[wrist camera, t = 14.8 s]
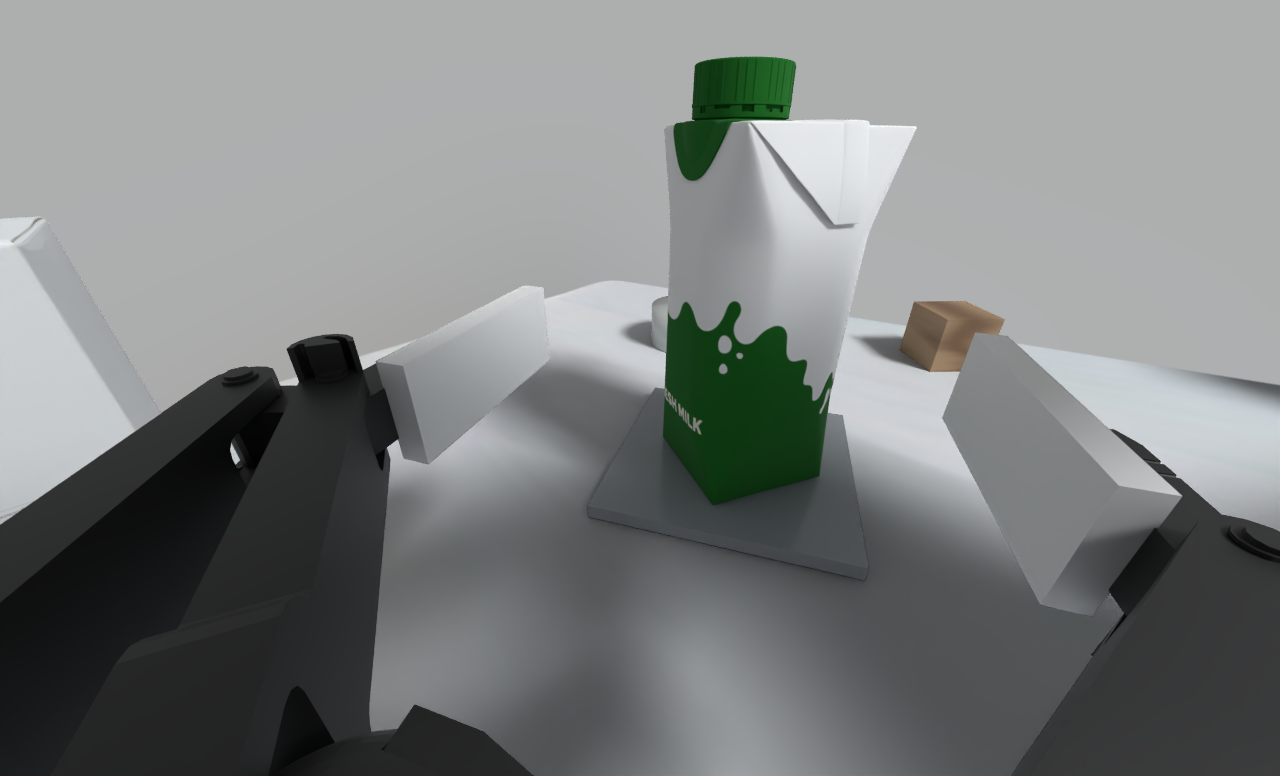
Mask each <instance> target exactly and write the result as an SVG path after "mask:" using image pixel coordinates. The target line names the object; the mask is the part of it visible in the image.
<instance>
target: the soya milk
mask: <svg viewBox="0 0 1280 776" xmlns="http://www.w3.org/2000/svg"><path fill="white" fill-rule="evenodd" d="M795 70H796V63H795V62H794V61H791V60H788V59H783V58H774V57H730V58H720V59H712V60H706V61H702V62H699V63H697V64H696V65H695V73H694V91H693V104H692V108H693V110H692V111H693V113H692V120H695V121H689V122H688V121H687V122H684V123H676V124H675V125H674V126H666V128H665V145H666V159H667V173H668V186H669V200H670V201H669V202H670V222H671V223H670V224H671V233H670V264H669V291H668V318H667V345H666V372H665V395H664V419H663V437H664V439H665V440H666V441H667V443H668V444H669V446H670V447H671V448H672V450H673V451H674V452H675V454H676V455H677V457H678V458H679V459H680V461H681V462H682V463H683V465H684V466H685V468H686V469H687V470H688V472H689V473H690V474H691V476H692V477H693V479H694V480H695V481H696V483H697V484H698V485H699V487H700V488H701V490H702V491H703V492H704V494H705V495H706V496H707V498H708V499H709V501H710V502H711V503H712V505H715V504H719V503H722V502H726V501H730V500H734V499H737V498H741V497H745V496H748V495H752V494H756V493H759V492H763V491H767V490H770V489H774V488H778V487H782V486H785V485H789V484H793V483H796V482H800V481H804V480H807V479H811V478H815V477H818V476H820V468H821V460H822V453H823V445H824V437H825V429H826V421H827V414H828V406H829V399H830V394H831V389H832V385H833V380H834V376H835V372H836V368H837V363H838V359H839V355H840V351H841V346H842V342H843V338H844V333H845V329H846V325H847V321H848V316H849V312H850V308H851V304H852V300H853V295H854V291H855V287H856V282H857V278H858V274H859V270H860V266H861V261H862V257H863V253H864V249H865V245H866V241H867V238H868V235H869V232H870V229H871V226H872V224H873V221H874V219H875V217H876V215H877V213H878V210H879V208H880V206H881V204H882V202H883V200H884V197H885V195H886V193H887V191H888V189H889V186H890V184H891V182H892V180H893V178H894V176H895V173H896V171H897V169H898V167H899V165H900V163H901V160H902V158H903V156H904V154H905V152H906V150H907V147H908V145H909V143H910V141H911V139H912V137H913V134H914V132H915V130H916V128H917V127H915V126H876V125H870V123H869V121H865V120H786V119H789V112H790V107H791V101H792V93H793V85H794V77H795Z"/></svg>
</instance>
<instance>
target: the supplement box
mask: <svg viewBox="0 0 1280 776" xmlns="http://www.w3.org/2000/svg"><path fill="white" fill-rule="evenodd" d="M159 414H161V411H160V409H159V408H158V406H157V404H156V403H155V401H154V399H153V397H152V396H151V394H150V392H149V391H148V389H147V387H146V386H145V384H144V383H143V381H142V379H141V378H140V376H139V375H138V373H137V371H136V370H135V368H134V366H133V364H132V363H131V361H130V359H129V358H128V356H127V354H126V353H125V351H124V350H123V348H122V346H121V345H120V343H119V341H118V340H117V338H116V336H115V335H114V333H113V331H112V330H111V328H110V326H109V325H108V323H107V321H106V320H105V318H104V316H103V315H102V313H101V311H100V310H99V308H98V306H97V305H96V303H95V301H94V300H93V298H92V296H91V295H90V293H89V291H88V290H87V288H86V286H85V285H84V283H83V281H82V280H81V278H80V276H79V274H78V273H77V272H76V270H75V268H74V266H73V264H72V263H71V261H70V259H69V258H68V256H67V254H66V252H65V251H64V249H63V247H62V246H61V244H60V242H59V241H58V239H57V237H56V236H55V234H54V232H53V231H52V229H51V228H50V226H49V224H48V222H47V221H46V219H45V218H43V217H41V216H40V217H39V216H38V217H23V218H7V219H0V524H2V523H3V522H5V521H6V520H8V519H9V518H10V517H12V516H13V515H15V514H16V513H18V512H19V511H21V510H22V509H23V508H25V507H26V506H28V505H29V504H31V503H32V502H34V501H35V500H37V499H38V498H39V497H41V496H42V495H44V494H45V493H47V492H48V491H50V490H51V489H52V488H54V487H55V486H57V485H58V484H60V483H61V482H63V481H64V480H65V479H67V478H68V477H70V476H71V475H73V474H74V473H76V472H77V471H78V470H80V469H81V468H83V467H84V466H86V465H87V464H89V463H90V462H91V461H93V460H94V459H96V458H97V457H99V456H100V455H102V454H103V453H104V452H106V451H107V450H109V449H110V448H112V447H113V446H115V445H116V444H117V443H119V442H120V441H122V440H123V439H125V438H126V437H128V436H129V435H130V434H132V433H133V432H135V431H136V430H138V429H139V428H141V427H142V426H143V425H145V424H146V423H148V422H149V421H151V420H152V419H154V418H155V417H156V416H158V415H159Z"/></svg>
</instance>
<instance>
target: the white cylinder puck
mask: <svg viewBox="0 0 1280 776" xmlns="http://www.w3.org/2000/svg"><path fill="white" fill-rule="evenodd" d="M667 318H668V296H666V297H662V298H659V299H657V300H655V301H654V302H653V303H652V336H651V342H652V345H653V346H654V347H655V348H657V349H658V350H660V351H662V352H665V353H666V345H667Z"/></svg>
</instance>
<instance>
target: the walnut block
mask: <svg viewBox="0 0 1280 776" xmlns="http://www.w3.org/2000/svg"><path fill="white" fill-rule="evenodd" d="M1003 322H1004V319H1003V318H1001V317H998V316H996V315H994V314H992V313H989V312H988V311H985V310H983V309H981V308H979V307H976V306H974V305H972V304H970V303H968V302H965V301H947V302H946V301H945V302H944V301H941V302H940V301H939V302H938V301H937V302H914V304H913V307H912V311H911V314H910V317H909V320H908V324H907V327H906V330H905V334H904V337H903V340H902V343H901V347H900V350H901V351H902V352H904V353H905V354H906V355H908V356H909V357H910V358H912V359H913V360H915V361H916V362H917V363H919V364H920V365H921V366H923V367H924V368H925V369H927V370H928V371H929V372H952V371H961V368H962V366H963V363H964V360H965V358H966V355H967V353H968V350H969V347H970V345H971V342H972V340H973V337H974V334H975V333H984V334H993V335H998V334H999V332H1000V330H1001V327H1002V325H1003Z"/></svg>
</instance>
